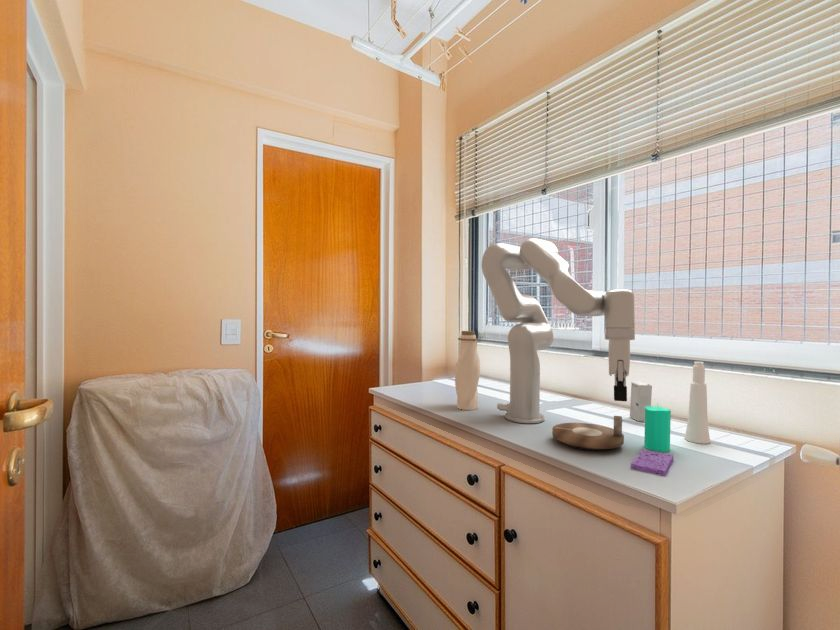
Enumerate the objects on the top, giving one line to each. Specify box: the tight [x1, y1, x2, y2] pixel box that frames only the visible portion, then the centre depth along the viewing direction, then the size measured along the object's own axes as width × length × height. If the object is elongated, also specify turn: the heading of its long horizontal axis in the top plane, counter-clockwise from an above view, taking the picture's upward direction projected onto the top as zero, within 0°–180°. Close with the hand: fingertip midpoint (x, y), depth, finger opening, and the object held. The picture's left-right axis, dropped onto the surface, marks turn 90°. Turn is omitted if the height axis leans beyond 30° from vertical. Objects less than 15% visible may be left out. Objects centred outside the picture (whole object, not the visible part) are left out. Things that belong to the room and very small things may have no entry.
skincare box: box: [629, 381, 653, 422], centre depth 139 cm, size 6×4×12 cm
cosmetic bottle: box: [684, 361, 711, 445], centre depth 117 cm, size 6×6×22 cm
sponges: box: [630, 448, 675, 477], centre depth 99 cm, size 7×13×2 cm, turn 142°
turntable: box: [551, 415, 625, 450], centre depth 114 cm, size 18×18×7 cm
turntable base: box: [566, 444, 608, 452], centre depth 114 cm, size 12×12×1 cm
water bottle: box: [454, 330, 481, 411], centre depth 154 cm, size 10×9×28 cm
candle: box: [643, 402, 672, 453], centre depth 111 cm, size 6×6×12 cm
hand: (620, 400), depth 116 cm, fingers closed
